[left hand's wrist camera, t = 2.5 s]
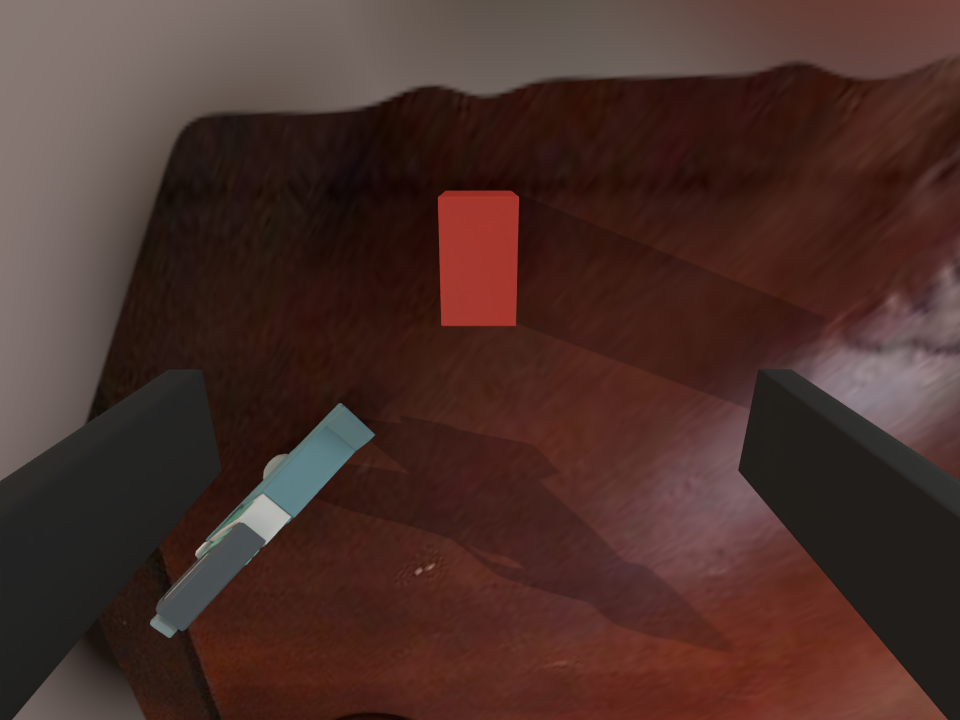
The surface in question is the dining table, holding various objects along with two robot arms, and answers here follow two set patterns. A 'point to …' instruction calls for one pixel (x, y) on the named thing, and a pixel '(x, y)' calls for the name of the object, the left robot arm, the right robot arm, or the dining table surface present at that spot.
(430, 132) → the dining table surface
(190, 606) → the toy gun
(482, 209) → the block
